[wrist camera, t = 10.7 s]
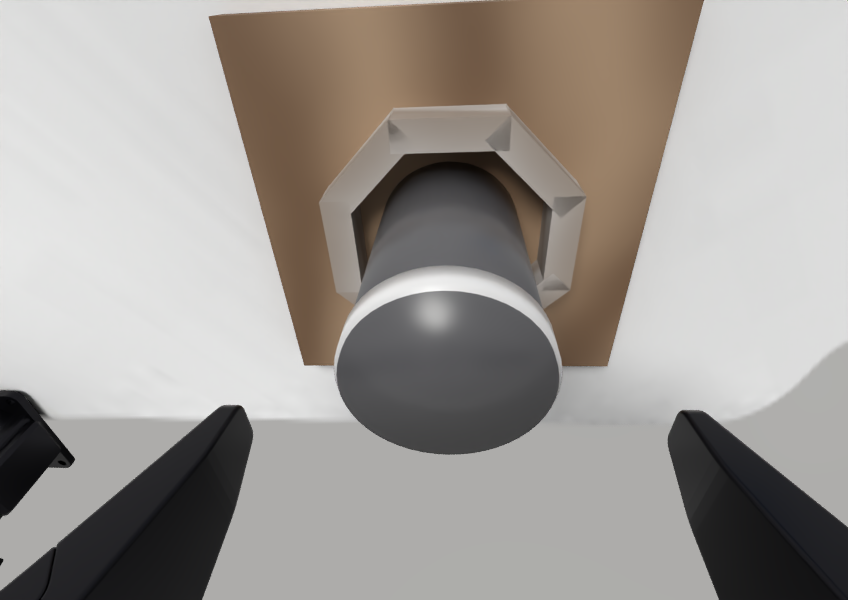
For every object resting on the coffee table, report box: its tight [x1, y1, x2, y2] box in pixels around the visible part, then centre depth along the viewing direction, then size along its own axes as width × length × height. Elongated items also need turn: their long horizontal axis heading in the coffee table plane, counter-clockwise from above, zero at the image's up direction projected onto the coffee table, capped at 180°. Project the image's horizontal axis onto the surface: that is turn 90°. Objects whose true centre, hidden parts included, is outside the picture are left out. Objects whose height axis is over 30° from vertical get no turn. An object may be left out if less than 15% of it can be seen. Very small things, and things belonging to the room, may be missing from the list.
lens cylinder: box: [334, 161, 562, 454], centre depth 13 cm, size 5×5×8 cm
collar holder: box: [209, 0, 704, 366], centre depth 16 cm, size 14×14×2 cm
